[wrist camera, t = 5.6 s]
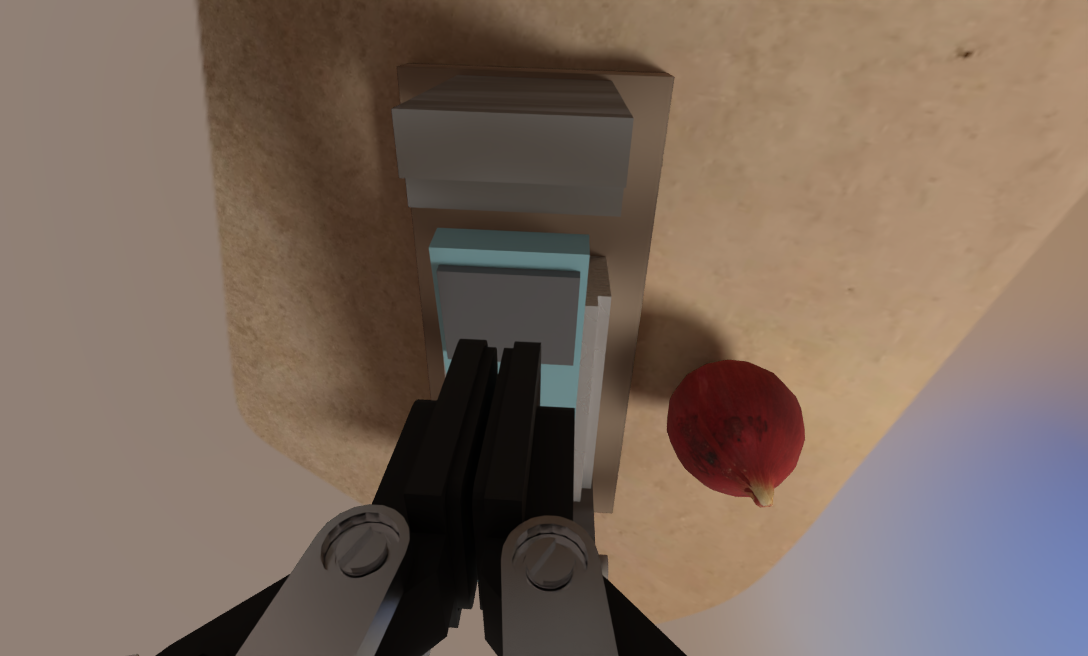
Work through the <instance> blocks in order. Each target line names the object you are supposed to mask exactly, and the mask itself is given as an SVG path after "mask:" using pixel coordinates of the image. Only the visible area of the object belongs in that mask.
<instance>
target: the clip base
mask: <svg viewBox="0 0 1088 656" xmlns="http://www.w3.org/2000/svg"><path fill="white" fill-rule="evenodd" d="M397 75H398V85H399V94H400V105H398V106H396V107H394V108H392V109H391V110H392V119H393V128H394V137H395V146H396V155H397V164H398V173H399V178H405V180H406V190H407V199H408V207H411V211H412V220H413V230H414V240H415V250H416V259H417V269H418V279H419V288H420V298H421V308H422V317H423V327H424V337H425V346H426V356H427V366H428V376H429V385H430V395H431V400H437V399H438V396H439V393H440V391H441V388H442V385H443V382H444V380H445V371H444V359H443V349H442V341H441V334H440V327H439V319H438V312H437V305H436V297H435V290H434V283H433V276H432V268H431V261H430V254H429V245H430V243H431V241H432V238H433V236H434V234H435V231H436V229H437V228H454V229H476V230H498V231H520V232H542V233H564V234H586V235H589V246H590V256H600V257H606V259H607V267H608V274H609V282H610V289H611V306H610V315H609V325H608V334H607V343H606V353H605V362H604V371H603V381H602V390H601V399H600V409H599V418H598V427H597V437H596V446H595V455H594V465H593V474H592V483H591V489H590V488H582V489H581V500H580V502H578V501H573V521H574V522H575V523H577V524H578V525H580V526H581V527H582V528H584V529H585V530H586V531H587V533H588V534H589V535H590V536H591V538H592V539H593V540H594V543H595V530H594V512H597V513H613V506H614V499H615V492H616V485H617V478H618V471H619V463H620V456H621V449H622V442H623V435H624V428H625V421H626V414H627V407H628V400H629V393H630V386H631V379H632V372H633V365H634V358H635V351H636V344H637V337H638V330H639V323H640V316H641V309H642V302H643V295H644V288H645V281H646V274H647V267H648V260H649V253H650V246H651V238H652V231H653V224H654V217H655V210H656V203H657V196H658V189H659V182H660V175H661V168H662V161H663V154H664V147H665V140H666V133H667V126H668V119H669V112H670V105H671V98H672V91H673V84H674V76H672V75H670V74H669V73H652V72H625V71H598V70H570V69H543V68H516V67H489V66H462V65H435V64H404V65H401V66H397ZM598 555H599V554H598ZM599 560H600V565H601V570H602V575H603V576H604V577H605V578H606V579H608V556H607V555H599Z"/></svg>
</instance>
